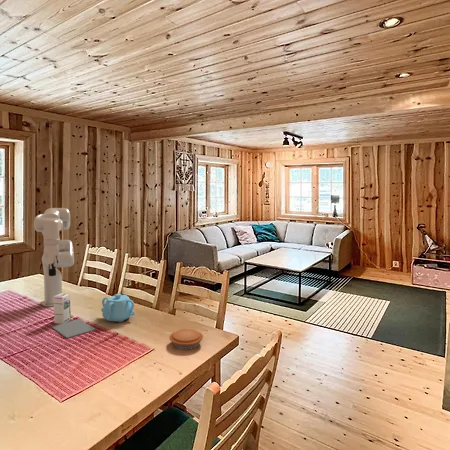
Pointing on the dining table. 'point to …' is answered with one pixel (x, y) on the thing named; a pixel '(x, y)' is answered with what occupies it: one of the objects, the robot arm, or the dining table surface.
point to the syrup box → (62, 308)
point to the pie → (186, 338)
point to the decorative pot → (117, 308)
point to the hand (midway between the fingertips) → (52, 275)
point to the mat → (73, 328)
